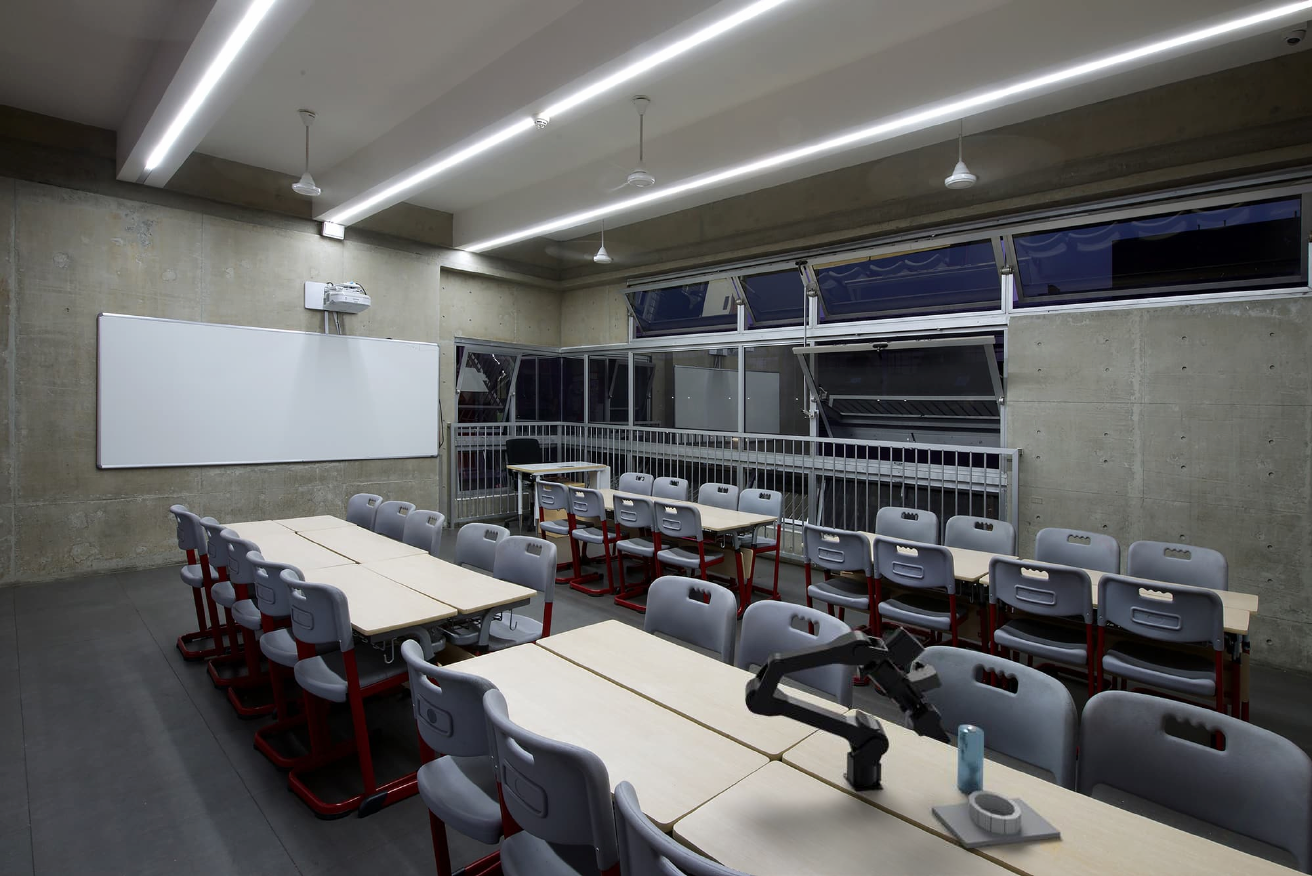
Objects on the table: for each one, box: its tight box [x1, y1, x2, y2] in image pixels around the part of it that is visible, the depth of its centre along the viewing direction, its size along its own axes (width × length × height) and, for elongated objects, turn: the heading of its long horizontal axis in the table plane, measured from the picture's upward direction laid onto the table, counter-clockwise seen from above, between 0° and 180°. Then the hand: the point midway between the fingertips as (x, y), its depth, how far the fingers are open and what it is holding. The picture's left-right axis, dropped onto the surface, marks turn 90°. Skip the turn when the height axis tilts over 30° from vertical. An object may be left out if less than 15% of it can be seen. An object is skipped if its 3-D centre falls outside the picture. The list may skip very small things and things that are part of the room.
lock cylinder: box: [956, 724, 985, 796], centre depth 135 cm, size 5×5×14 cm
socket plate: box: [931, 790, 1061, 849], centre depth 124 cm, size 20×11×4 cm, turn 99°
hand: (941, 731), depth 136 cm, fingers open, 9 cm apart
